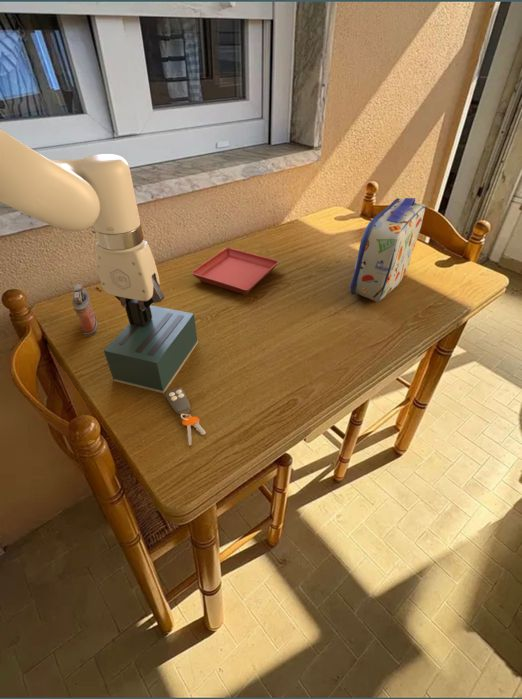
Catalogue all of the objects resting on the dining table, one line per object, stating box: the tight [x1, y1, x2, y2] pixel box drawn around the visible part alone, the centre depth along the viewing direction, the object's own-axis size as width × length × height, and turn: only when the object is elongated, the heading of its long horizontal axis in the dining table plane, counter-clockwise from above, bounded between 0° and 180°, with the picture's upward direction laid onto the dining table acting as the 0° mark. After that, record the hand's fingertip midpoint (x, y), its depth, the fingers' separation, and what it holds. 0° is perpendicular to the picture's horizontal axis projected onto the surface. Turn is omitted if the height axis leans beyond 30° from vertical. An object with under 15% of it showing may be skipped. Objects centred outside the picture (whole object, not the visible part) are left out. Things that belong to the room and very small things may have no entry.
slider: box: [128, 299, 141, 325], centre depth 75 cm, size 2×3×5 cm
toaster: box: [103, 304, 199, 395], centre depth 78 cm, size 11×16×8 cm
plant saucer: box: [191, 247, 280, 295], centre depth 106 cm, size 18×18×3 cm
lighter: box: [72, 283, 99, 337], centre depth 86 cm, size 8×3×10 cm, turn 17°
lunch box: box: [349, 197, 426, 303], centre depth 98 cm, size 28×10×22 cm, turn 148°
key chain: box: [165, 387, 207, 447], centre depth 69 cm, size 13×4×2 cm, turn 30°
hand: (141, 321), depth 77 cm, fingers closed on slider, 2 cm apart
